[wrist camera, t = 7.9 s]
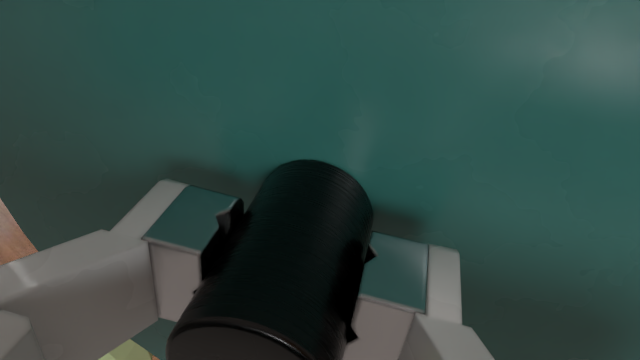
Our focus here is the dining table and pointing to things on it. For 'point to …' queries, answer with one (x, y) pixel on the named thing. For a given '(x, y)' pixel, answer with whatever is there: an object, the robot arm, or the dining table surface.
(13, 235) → the dining table surface
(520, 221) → the lid
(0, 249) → the dining table surface
